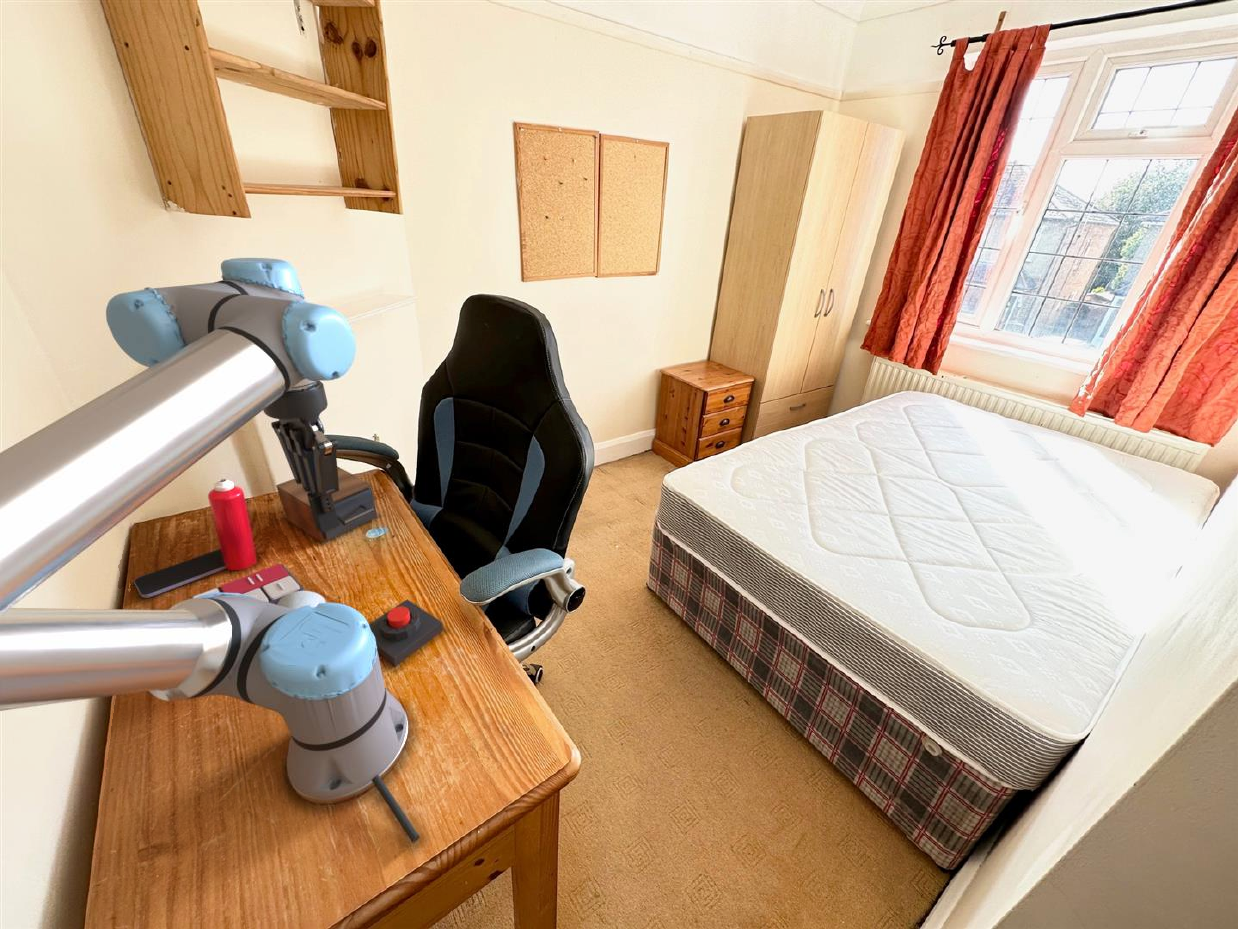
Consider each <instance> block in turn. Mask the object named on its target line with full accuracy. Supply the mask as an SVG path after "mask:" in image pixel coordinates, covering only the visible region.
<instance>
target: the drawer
mask: <svg viewBox="0 0 1238 929" xmlns="http://www.w3.org/2000/svg"><path fill="white" fill-rule="evenodd" d="M374 498H375V497H374V493H373V488H371V489H370V488H368V489H365V490H362V491H359V492H357V493H354V494H352V495H350V496H347V497H345V498H343V499H340V500H338V501H336V502H334V506H335V510H336V514H337V518H338V522H339V525H338V526H336V527H334V528H332V529H329V530H327V531H325V532H323V535H324V539H326V540H328V541H330V540H332V539H334V538H336V537H338V536H340V535H343V534H345V533H347V532H349V531H350V529H351V530H353V529H355V528H356V526H357V527H359V526H361V525H363V524H365V523H368V522H369V521H371V520H373V518H374V519H376V518H377V517H378V513H377V508H376V502H375V499H374ZM375 517H376V518H375ZM354 527H355V528H354ZM352 528H353V529H352ZM348 530H349V531H348ZM346 531H347V532H346ZM344 532H345V533H344ZM329 539H330V540H329Z"/></svg>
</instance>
